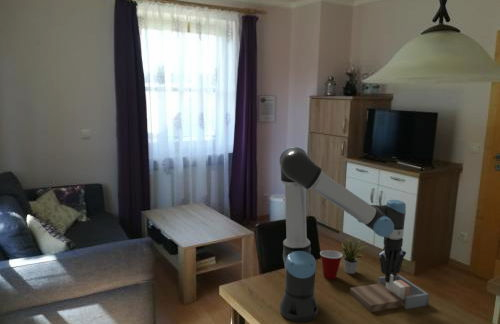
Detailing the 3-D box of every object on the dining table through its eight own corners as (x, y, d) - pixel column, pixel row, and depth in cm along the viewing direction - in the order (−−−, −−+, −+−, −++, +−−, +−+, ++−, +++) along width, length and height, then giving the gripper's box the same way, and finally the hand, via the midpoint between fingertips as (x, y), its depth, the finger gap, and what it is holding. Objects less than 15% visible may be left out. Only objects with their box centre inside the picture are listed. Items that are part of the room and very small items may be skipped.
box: (406, 309, 159) (407, 297, 158) (377, 287, 177) (378, 277, 176) (427, 305, 162) (429, 294, 161) (397, 284, 180) (398, 274, 179)
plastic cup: (339, 272, 191) (341, 249, 189) (342, 282, 180) (344, 258, 178) (317, 270, 192) (318, 248, 190) (319, 281, 181) (320, 257, 179)
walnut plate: (370, 312, 156) (370, 305, 155) (349, 294, 170) (350, 287, 169) (402, 306, 161) (403, 299, 160) (380, 289, 175) (380, 283, 174)
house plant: (367, 267, 197) (369, 237, 194) (367, 279, 184) (370, 247, 181) (338, 263, 201) (340, 233, 198) (337, 275, 188) (339, 243, 185)
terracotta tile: (405, 286, 165) (410, 286, 166) (396, 280, 171) (400, 279, 172) (404, 299, 166) (408, 298, 167) (394, 292, 172) (399, 292, 173)
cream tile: (400, 287, 165) (405, 286, 165) (391, 281, 170) (396, 280, 171) (398, 300, 166) (403, 299, 166) (389, 293, 171) (394, 293, 172)
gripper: (386, 241, 157) (381, 294, 161) (412, 238, 161) (407, 290, 165) (374, 234, 164) (370, 286, 168) (400, 232, 168) (395, 282, 172)
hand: (388, 288), depth 166 cm, fingers closed
